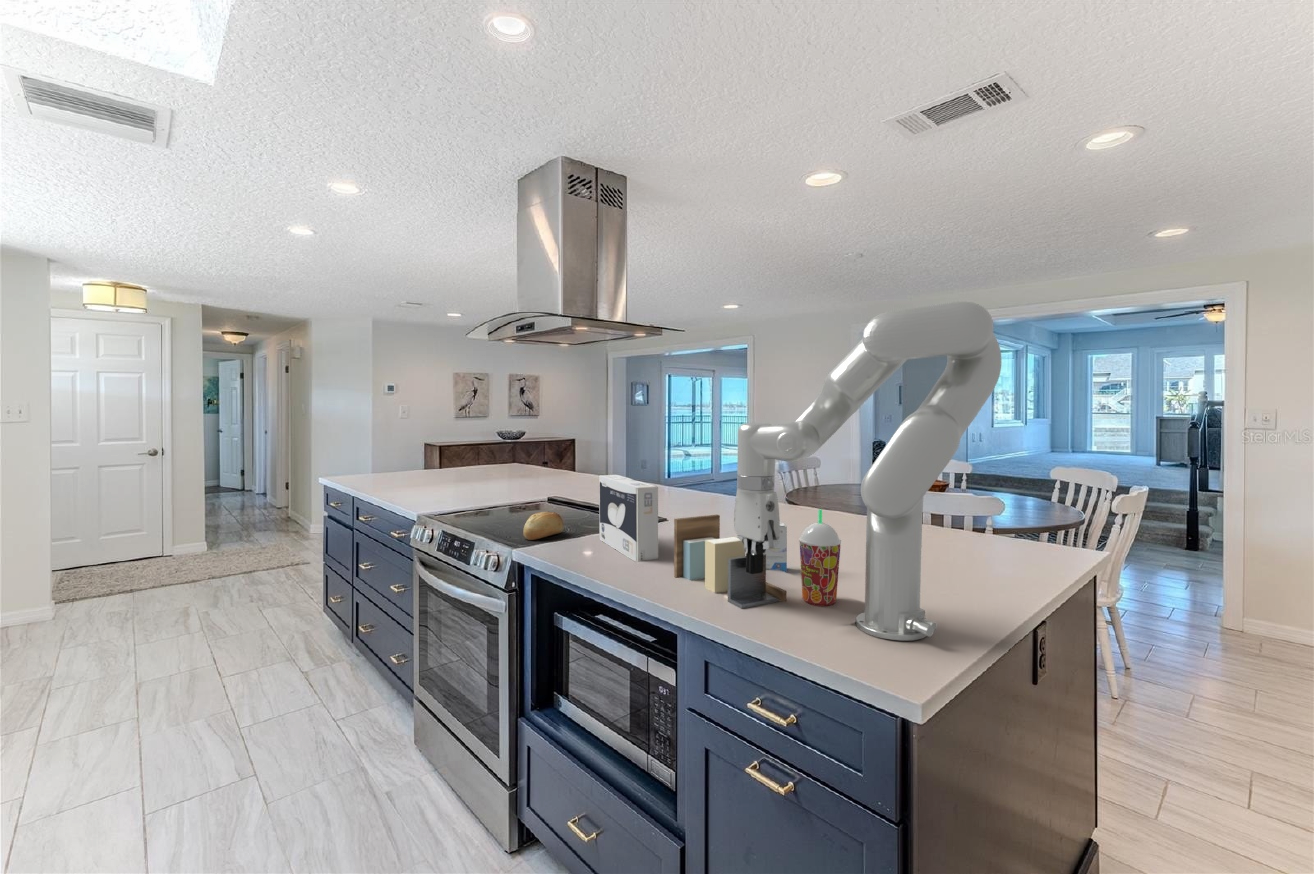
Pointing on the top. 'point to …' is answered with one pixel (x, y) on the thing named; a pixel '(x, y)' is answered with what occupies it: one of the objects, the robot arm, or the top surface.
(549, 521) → the bread roll
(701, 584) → the top surface
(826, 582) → the smoothie
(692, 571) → the teal book
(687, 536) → the shelf
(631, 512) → the packaging
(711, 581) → the tan book
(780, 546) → the ink box
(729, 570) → the bookend
